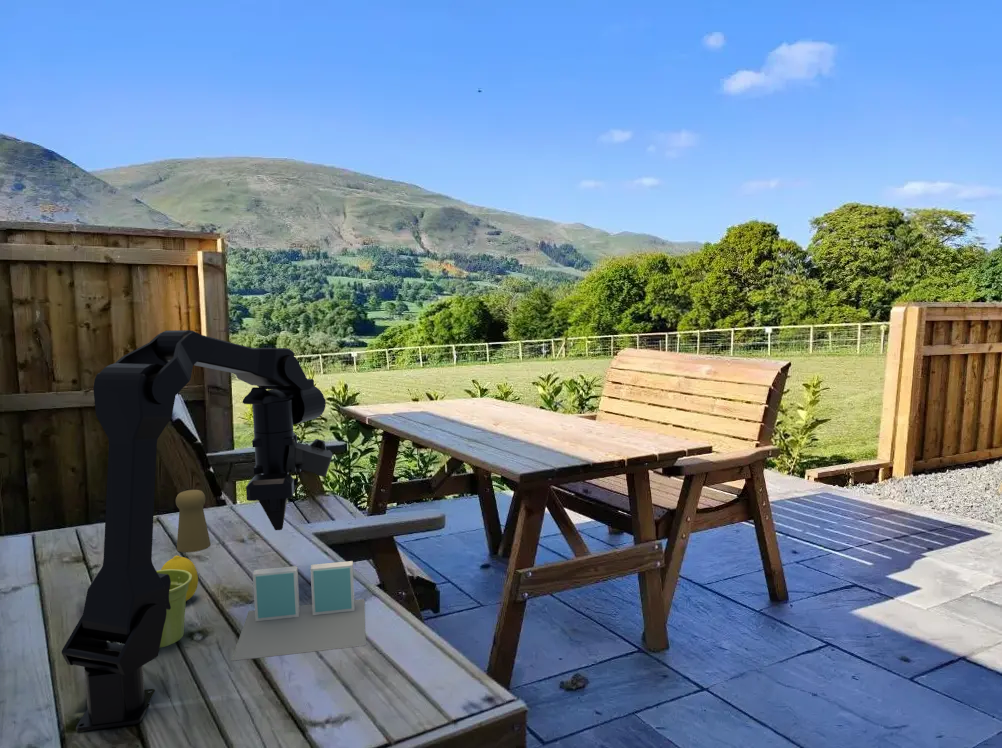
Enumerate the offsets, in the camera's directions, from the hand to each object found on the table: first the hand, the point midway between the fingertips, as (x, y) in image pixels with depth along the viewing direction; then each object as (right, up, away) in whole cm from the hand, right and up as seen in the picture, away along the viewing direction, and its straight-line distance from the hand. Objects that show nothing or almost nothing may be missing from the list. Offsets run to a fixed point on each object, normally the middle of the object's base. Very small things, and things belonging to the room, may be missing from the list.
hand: (278, 529), depth 108 cm
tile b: (+9, -11, -4) cm, 15 cm away
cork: (-25, -10, +27) cm, 38 cm away
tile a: (+2, -12, -6) cm, 13 cm away
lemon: (-15, -12, 0) cm, 19 cm away
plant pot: (-13, -13, -12) cm, 22 cm away
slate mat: (+6, -12, -9) cm, 17 cm away
